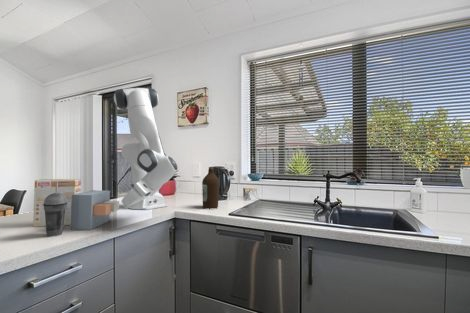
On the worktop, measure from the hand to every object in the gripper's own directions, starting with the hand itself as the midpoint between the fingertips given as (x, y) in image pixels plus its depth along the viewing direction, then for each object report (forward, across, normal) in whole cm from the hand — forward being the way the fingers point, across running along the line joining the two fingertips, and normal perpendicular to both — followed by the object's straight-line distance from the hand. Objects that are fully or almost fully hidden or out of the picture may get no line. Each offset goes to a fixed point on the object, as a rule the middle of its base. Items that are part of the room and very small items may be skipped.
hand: (125, 207), depth 103 cm
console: (+14, +3, -4) cm, 15 cm away
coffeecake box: (+25, +3, -15) cm, 29 cm away
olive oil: (-20, -37, +30) cm, 52 cm away
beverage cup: (+18, +17, -8) cm, 26 cm away
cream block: (+6, 0, -4) cm, 7 cm away
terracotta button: (+6, +7, -4) cm, 10 cm away
